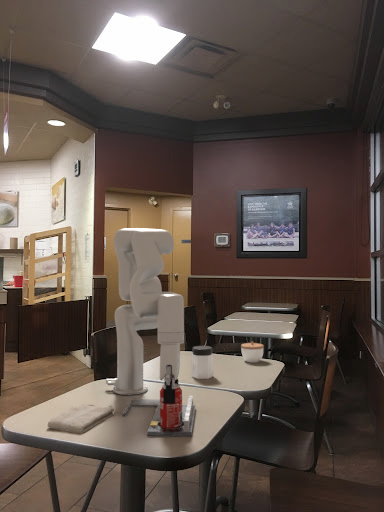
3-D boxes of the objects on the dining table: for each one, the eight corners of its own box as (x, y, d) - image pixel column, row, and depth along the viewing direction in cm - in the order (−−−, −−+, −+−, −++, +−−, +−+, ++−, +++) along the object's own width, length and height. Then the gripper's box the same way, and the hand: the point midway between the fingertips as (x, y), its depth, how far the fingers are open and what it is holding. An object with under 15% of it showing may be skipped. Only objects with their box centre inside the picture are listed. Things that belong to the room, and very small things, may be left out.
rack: (147, 435, 119) (147, 420, 119) (158, 408, 141) (158, 395, 141) (191, 436, 118) (191, 420, 118) (195, 408, 141) (195, 395, 141)
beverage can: (170, 422, 129) (170, 381, 129) (186, 427, 125) (186, 385, 125) (155, 428, 124) (155, 386, 124) (172, 434, 120) (171, 390, 120)
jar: (188, 375, 183) (188, 346, 184) (204, 373, 187) (204, 344, 188) (199, 380, 176) (199, 350, 176) (216, 377, 180) (216, 348, 180)
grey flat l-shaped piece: (122, 416, 134) (122, 414, 134) (132, 401, 149) (132, 398, 149) (161, 417, 133) (161, 414, 133) (167, 401, 149) (167, 399, 149)
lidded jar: (238, 359, 215) (238, 340, 215) (259, 358, 216) (259, 339, 217) (245, 364, 204) (244, 343, 204) (267, 363, 206) (266, 343, 206)
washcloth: (115, 415, 137) (115, 405, 137) (82, 436, 120) (82, 424, 120) (83, 410, 141) (83, 401, 141) (46, 430, 124) (46, 419, 124)
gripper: (161, 332, 133) (161, 389, 133) (153, 342, 116) (153, 407, 116) (186, 332, 133) (186, 389, 133) (181, 342, 116) (182, 408, 115)
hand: (171, 398), depth 124 cm, fingers open, 9 cm apart
